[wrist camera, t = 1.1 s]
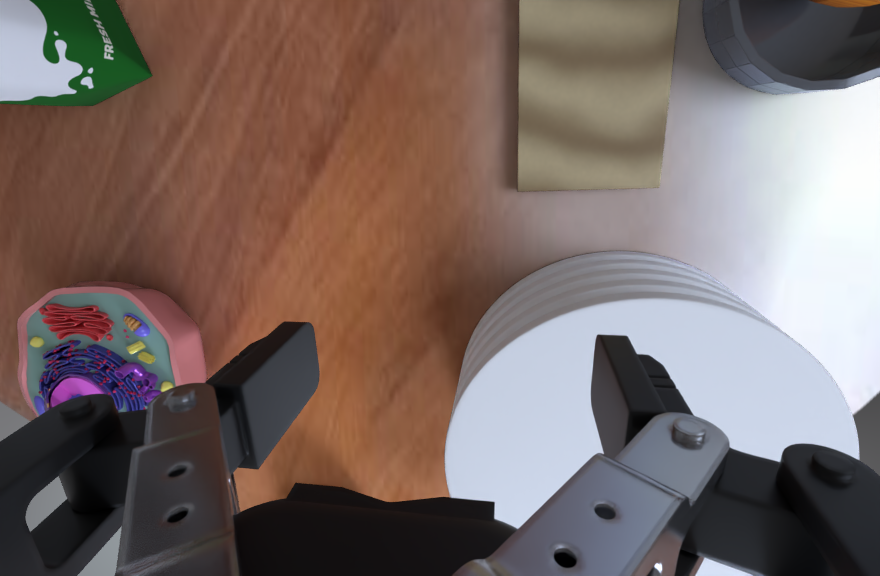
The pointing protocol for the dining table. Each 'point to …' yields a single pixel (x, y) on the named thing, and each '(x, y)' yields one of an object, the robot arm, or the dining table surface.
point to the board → (593, 92)
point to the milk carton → (66, 52)
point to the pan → (793, 44)
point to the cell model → (106, 346)
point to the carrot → (847, 3)
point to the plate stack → (651, 333)
